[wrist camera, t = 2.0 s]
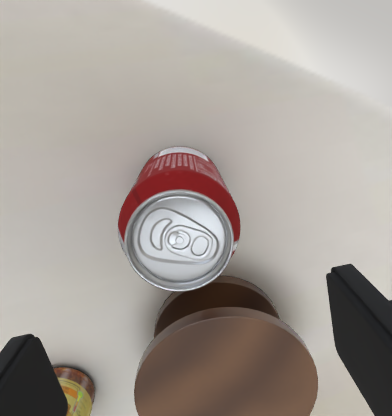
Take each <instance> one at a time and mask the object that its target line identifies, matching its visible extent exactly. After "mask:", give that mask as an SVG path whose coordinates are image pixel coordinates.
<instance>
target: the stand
mask: <svg viewBox="0 0 392 416" xmlns="http://www.w3.org/2000/svg"><path fill="white" fill-rule="evenodd" d="M317 391H318V376H317V370H316V367H315V364H314V361H313V359H312V357H311V355H310V353H309V351H308V349H307V347H306V345H305V344H304V342H303V340H302V339H301V338H300V337H299V335H298V334H297V333H296V332H295V331H294V330H293V329H292V328H291V327H290V326H288V325H287V324H285V323H284V322H282V321H281V320H280V319H279V316H278V314H277V311H276V309H275V307H274V305H273V303H272V302H271V300H270V299H269V298H268V296H267V295H266V294H265V293H264V292H263V291H262V290H261V289H259V288H258V287H256V286H255V285H253V284H251V283H249V282H247V281H245V280H242V279H239V278H235V277H229V276H218V277H217V278H216V279H214V280H213V281H212V282H210V283H208V284H207V285H205V286H203V287H200V288H197V289H194V290H189V291H175V292H174V293H173V294H172V295H171V296H170V297H169V298H168V299H167V300H166V301H165V303H164V304H163V306H162V307H161V309H160V311H159V313H158V316H157V319H156V325H155V333H154V340H153V341H152V342H151V343H150V344H149V346H148V347H147V349H146V350H145V352H144V354H143V356H142V358H141V360H140V363H139V366H138V370H137V375H136V381H135V389H134V398H135V405H136V409H137V412H138V415H139V416H309V415H310V413H311V411H312V409H313V407H314V404H315V401H316V397H317Z"/></svg>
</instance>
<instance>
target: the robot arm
mask: <svg viewBox="0 0 392 416" xmlns="http://www.w3.org/2000/svg"><path fill="white" fill-rule="evenodd" d="M326 279H327V287H328V295H329V303H330V310H331V318H332V326H333V334H334V341H335V347H336V350H337V352H338V355H339V357H340V358H341V360H342V362H343V363H344V365H345V367H346V368H347V370H348V372H349V373H350V375H351V377H352V378H353V380H354V382H355V383H356V385H357V387H358V388H359V390H360V392H361V393H362V395H363V397H364V398H365V400H366V402H367V404H368V405H369V407H370V409H371V410H372V412H373V414H374V415H375V416H392V300H390V301H388V300H387V299H386V298H385V297H384V296H383V295H382V294H381V293H380V292H379V291H378V290H377V289H376V288H375V287H374V286H373V285H372V284H371V283H370V282H369V281H368V280H367V279H366V278H365V277H364V276H363V275H362V274H361V273H360V272H359V271H358V270H357V269H356V268H355V267H354V266H353V265H352V264H347V265H342V266H337V267H333V268H332V269H331V273H328V274H326ZM67 411H68V401H67V398H66V396H65V394H64V391H63V389H62V387H61V385H60V383H59V380H58V378H57V376H56V374H55V371H54V369H53V367H52V365H51V363H50V360H49V358H48V356H47V354H46V351H45V349H44V347H43V345H42V343H41V341H40V339H39V338H38V337H34V335H32V334H27V335H22V336H18V337H13V338H11V339H10V340H9V341H8V343H7V344H6V346H5V347H4V348H3V350H2V351H1V352H0V416H66V414H67Z"/></svg>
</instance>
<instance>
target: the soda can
mask: <svg viewBox="0 0 392 416" xmlns="http://www.w3.org/2000/svg"><path fill="white" fill-rule="evenodd" d="M118 234H119V240H120V243H121V246H122V249H123V251H124V253H125V255H126V256H127V258H128V260H129V262H130V264H131V266H132V267H133V269H134V270H135V272H136V273H137V274H138V275H139V276H140V277H141V278H142V279H144V280H145V281H146V282H148V283H150V284H151V285H153V286H155V287H158V288H161V289H164V290H168V291H189V290H194V289H197V288H200V287H203V286H205V285H207V284H208V283H210V282H212V281H213V280H214V279H216V278H217V277H218V276H219V275H220V274H221V273H222V272H223V270H224V269H225V268H226V266H227V264H228V263H229V260H230V258H231V257H232V255H233V254H234V252H235V249H236V247H237V244H238V241H239V236H240V218H239V213H238V210H237V207H236V205H235V203H234V201H233V199H232V197H231V195H230V193H229V191H228V189H227V187H226V185H225V183H224V181H223V179H222V178H221V176H220V174H219V172H218V170H217V168H216V166H215V165H214V163H213V162H212V161H211V160H210V159H209V158H208V157H207V156H206V155H205V154H203V153H202V152H200V151H198V150H195V149H193V148H189V147H171V148H167V149H164V150H162V151H160V152H158V153H156V154H155V155H154V156H152V157H151V158H150V159H149V160H148V162H147V163H146V164H145V166H144V167H143V169H142V171H141V173H140V174H139V176H138V178H137V180H136V182H135V183H134V185H133V187H132V189H131V191H130V192H129V194H128V196H127V198H126V200H125V202H124V204H123V206H122V208H121V211H120V215H119V221H118Z"/></svg>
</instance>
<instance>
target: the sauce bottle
mask: <svg viewBox="0 0 392 416" xmlns="http://www.w3.org/2000/svg"><path fill="white" fill-rule="evenodd" d="M54 371H55V374H56V376H57V378H58V380H59V383H60V385H61V387H62V389H63V391H64V394H65V396H66V398H67V401H68V411H67V414H66V416H90V414H91V410H92V404H93V402H94V394H95V393H94V392H95V390H94V386H93V383H92V382H91V380H90V378H89V377H88V376H87V375H85V374H84V373H82V372H80V371H78V370H75V369H72V368H67V367H60V368H59V367H57V368H54Z"/></svg>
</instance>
